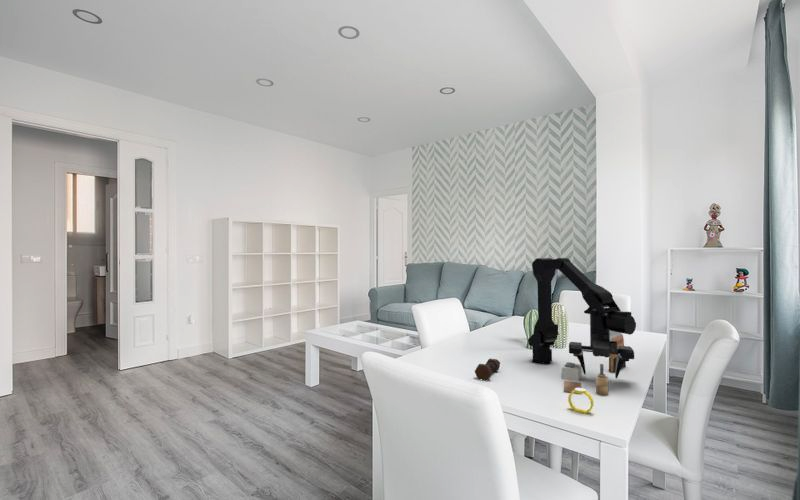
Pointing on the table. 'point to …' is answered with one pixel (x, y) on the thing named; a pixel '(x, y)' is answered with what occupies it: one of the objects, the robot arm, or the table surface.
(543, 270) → the robot arm
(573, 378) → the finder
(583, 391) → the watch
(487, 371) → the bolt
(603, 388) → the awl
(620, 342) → the ammunition clip
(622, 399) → the table surface
